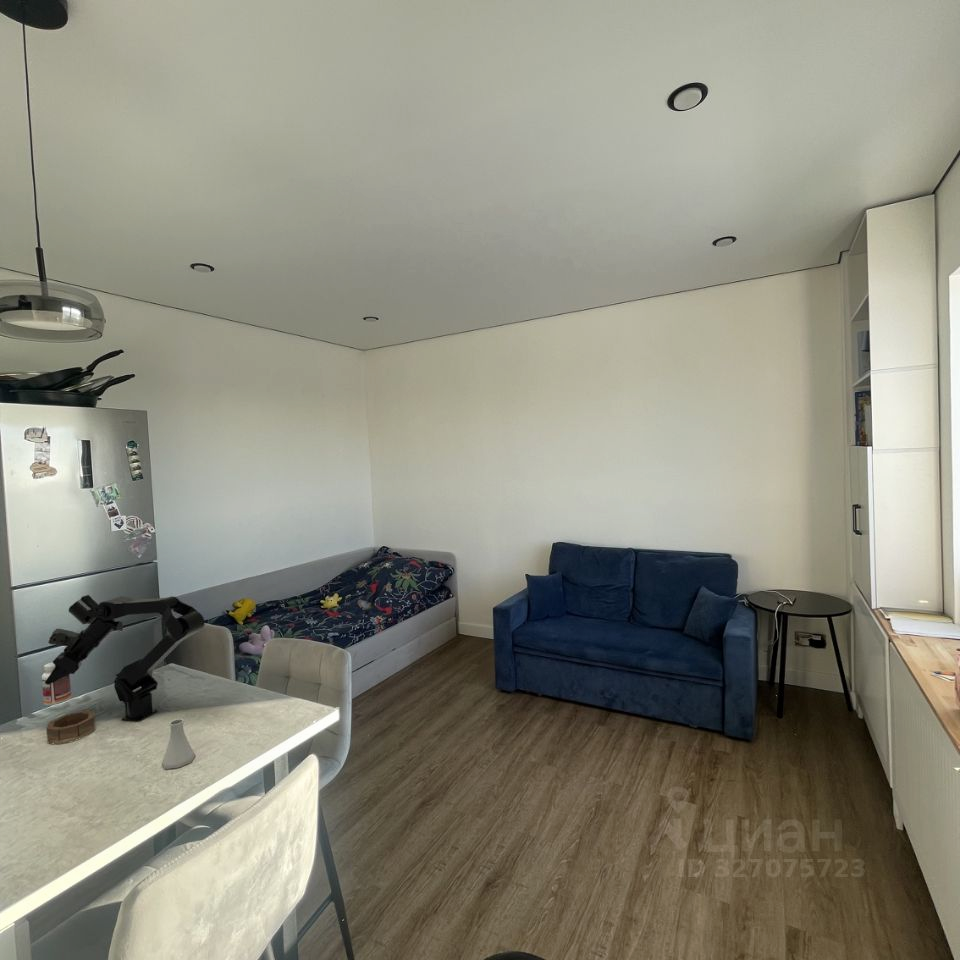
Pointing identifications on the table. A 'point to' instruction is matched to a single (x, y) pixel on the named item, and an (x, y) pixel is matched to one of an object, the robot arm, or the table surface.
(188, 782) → the table surface
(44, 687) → the pill bottle
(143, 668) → the robot arm
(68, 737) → the bottle holder
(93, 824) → the table surface
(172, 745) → the flask
